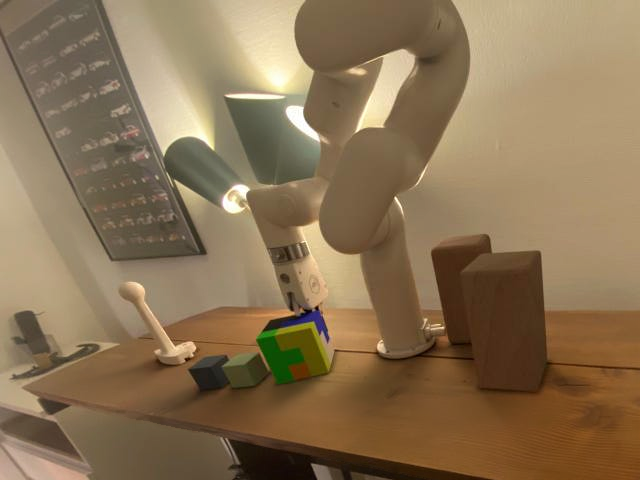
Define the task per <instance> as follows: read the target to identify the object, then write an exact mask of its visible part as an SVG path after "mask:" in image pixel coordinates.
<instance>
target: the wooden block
mask: <svg viewBox="0 0 640 480" xmlns="http://www.w3.org/2000/svg"><path fill="white" fill-rule="evenodd" d="M543 277H544V276H543V261H542V252H541V251H540V250H538V249H537V250H535V249H534V250H522V251H521V250H519V251H504V252H492V253H485V254H481V255H479V256H478V257H477V258H476V259H475V260H474V261H473V262H472V263H470V264H469V265H468V266H467V267H466V268H465V269H464V270H462V271H461V272H460V279H461V284H462V290H463V296H464V302H465V308H466V314H467V320H468V325H469V331H470V337H471V343H470V344H471V348H472V355H473V361H474V367H475V372H476V378H477V383H478V387H479V388H480V389H487V390H488V389H489V390H502V391H517V392H530V393H535V392H538V391H539V387H540V384H541V381H542V378H543V376H544V372H545V369H546V367H547V363H548V360H549V359H548V346H547V344H548V343H547V329H546V328H547V326H546V312H545V311H546V310H545V309H546V308H545V296H544V294H545V293H544V279H543Z"/></svg>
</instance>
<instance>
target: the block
mask: <svg viewBox="0 0 640 480" xmlns="http://www.w3.org/2000/svg"><path fill="white" fill-rule="evenodd" d="M485 253H493V249H492V241H491V237H490V235H489V234H487V233H479V234H469V235H461V236H451V237H446V238H443V239H442V240H441V241H440V242H438V244H436V245H435V246H434V247H433V248H432V249H431V250H430V258H431V262H432V266H433V272H434V275H435V276H434V277H435V283H436V286H437V292H438V295H439V300H440V301H439V302H440V306H441V311H442V316H443V320H444V325H445V326H444V327H445V328H446V336H447V340H448V342H449V343H450V344H451V345H455V344H472V343H471V337H470V331H469V325H468V320H467V314H466V308H465V302H464V296H463V290H462V284H461V279H460V272H461V271H462V270H464V269H465V268H466V267H467V266H468V265H469V264H470V263H472V262H473V261H474V260H475V259H476V258H477V257H478V256H479V255H481V254H485Z"/></svg>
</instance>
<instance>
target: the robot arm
mask: <svg viewBox="0 0 640 480" xmlns="http://www.w3.org/2000/svg"><path fill="white" fill-rule="evenodd" d="M464 24H465V23H464V21H463V19H462V17H461V15H460V12H459V11H458V9H457V7H456V5H455V3H454V2H453V0H304V1H303V3H302V4H301V5H300V6H299V8H298V11H297V13H296V16H295V21H294V26H293V27H294V28H293V30H294V33H293V34H294V41H295V46H296V49H297V51H298V54H299V56H300V57H301V59H302V60H303V62H304V64H306V66H307V67H308V68H309V69H311V70H312V71H313V73H312V76H311V77H312V78H311V81H310V84H309V88H308V92H307V95H306V98H305V102H304V105H303V109H302V115H303V118H304V121H305V123H306V124H307V125H308V127H309V128H310V129H311V130H313V132H315V133H316V135H317V137H318V139H319V142H320V143H319V144H320V153H319V158H318V161H317V166H316V169H315V172H314V174H313V177H311V178H310V177H308V178H304V179H298V180H293V181H287V182H284V183H282V184H278V185H277V184H275V185H268V186H267V185H266V186H261V187H256V188H251V189H249V190H248V191H246V194H245V200H246V202H247V205H248V207H249V210H250V213H251V215H252V217H253V219H254V222H255V224H256V227H257V229H258V231H259V235H260V237H261V240H262V241H263V244H264V246H265V248H266V252H267V254H268V256H269V260H270V261H271V263H272V265H273V268H274V269H273V270H274V272H275V276H276V280H277V283H278V287H279V289H280V292H281V293H280V294H281V295H282V298H283V301H284V303H285V305H286V307H287V309H288V310H289V311H290V312H292V313H294V315H295V316H296V317H301V316H302V315H304V314H305V313H307V312H312V311H316V310H319V311H320V314H321V316H322V319H323V322H324V324H325V327H326V329H327V332H328V333H329V329H328V326H327V323H326V320H325V318H324V316H323V315H324V311H323V307H322V304H323V302H324V300H326V299H327V298H328V295H329V291H328V288H327V285H326V282H325V280H324V277H323V275H322V273H321V270H320V269H319V266H318V264H317V262H316V260H315V258H314V256H313V255H312V253H311V251H310V248H309V245H308V242H307V239H306V237H305V234H304V230H303V227H307V226H311V225H315V224H316V223H318V226H319V231H320V233H321V236H322V238H323V240H324V241H325V243H326V244H327V245H328V246H329V247H330V248H331V249H333V250H334V251H336V252H337V253H340V254H343V255H347V256H355V255H358V256H359V265H360V270H361V273H362V277H363V280H364V284H365V287H366V291H367V294H368V297H369V300H370V301H369V302H370V304H371V308H372V311H373V314H374V317H375V321H376V324H377V328H378V330H379V334H380V337H381V340H379V342H378V343H377V345H376V349H377V352H378V355H380V356H381V357H383V358H385V359H391V360H397V359H398V360H399V359H406V358H410V357H413V356H417V355H419V354H422V353H424V352H425V351H427V350H429V349H430V348H431V347H432V346H433V345H434V344H435V342H436V337H439V338H440V337H446V336H447V331H446V326H443V324H442V323H435V324H431V323H429V319H428V318H424V314H423V311H422V306H421V302H420V297H419V293H418V289H417V285H416V281H415V277H414V272H413V267H412V262H411V257H410V254H409V253H410V252H409V248H408V247H409V246H408V240H407V229H406V219H405V214H404V210H403V208H402V207H403V206H402V205H401V203H400V201H399V200H398V198H397V196H398V195H400V194H403V193H406V192H408V191H410V190H412V189H414V188H415V187H416V186H417V185H418V184H419V183H420V181H421V179H422V178H423V176H424V174H425V172H426V169H428V168H427V167H428V165H429V163H430V162H431V159H432V158H433V156H434V154H435V153H436V150H437V148H438V147H439V144H440V143H441V140H442V138H443V136H444V134H445V133H446V130H447V128H448V126H449V124H450V122H451V120H452V118H453V116H454V114H455V112H456V110H457V109H458V106H459V104H460V102H461V101H462V98H463V96H464V93H465V90H466V89H467V88H466V87H467V85H468V81H469V77H470V70H471V48H470V41H469V36H468V33H467V30H466V27H465V25H464ZM400 50H401V51H403V52H405V53H407V54H409V55H412V56H413V59H414V62H413V67H412V69H411V70H410V72H409V74H407V76H406V78H405V79H404V81H403V83H402V84H401V85H400V87H399V89H398V90H397V93H396V96H395V98H394V101H393V104H392V106H391V108H390V110H389V112H388V114H387V117H386V119H385V121H384V122H383V123H382V125H380V126H367V127H363V128H361V126H362V123H363V120H364V117H365V115H366V112H367V109H368V107H369V104H370V101H371V99H372V96H373V93H374V90H375V88H376V84H377V81H378V80H379V76H380V73H381V72H382V68H383V64H384V57H385V56H388V55H389V54H393V53H395V52H398V51H400Z"/></svg>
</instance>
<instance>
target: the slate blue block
mask: <svg viewBox="0 0 640 480" xmlns="http://www.w3.org/2000/svg"><path fill="white" fill-rule="evenodd" d="M229 360H230V359H229V357H228V355H227V354H221V355H210V356H205V357H202V359H200V360H198V361H197V362H196V363H194V364H193V365H191V366H190V367H188V368H187V371H188V372H189V374H190V375H191V377H192V379H193V380H194V382H195V384H196V385H197V387H198V389H199V390H201V391H202V390H203V391H204V390H212V389H213V390H214V389H223V388H224V387H225V386H226V385H227V384H229V383H230V381H229V380H228V378H227V376H226V374H225V373H224V371H223V369H222V366H223V365H224V364H226V363H227V362H228V361H229Z"/></svg>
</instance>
